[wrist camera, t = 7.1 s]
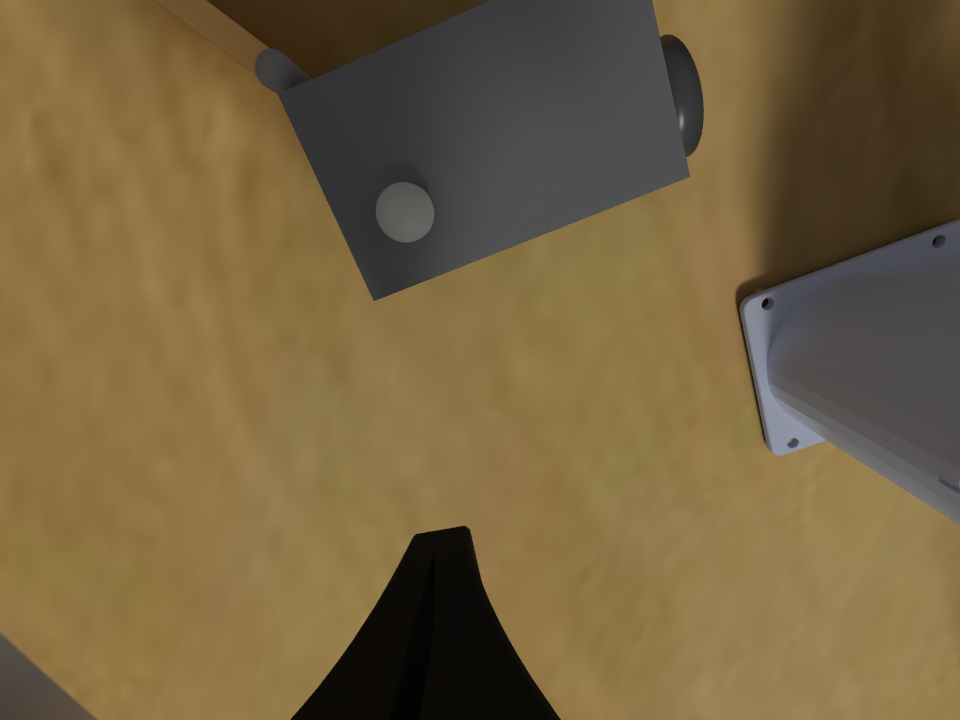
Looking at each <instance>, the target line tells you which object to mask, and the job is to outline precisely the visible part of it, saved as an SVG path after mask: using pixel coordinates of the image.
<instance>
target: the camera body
mask: <svg viewBox="0 0 960 720" xmlns="http://www.w3.org/2000/svg"><path fill="white" fill-rule="evenodd" d="M278 95H279V97H280V100H281V102H282V104H283V106H284V108H285V110H286V113H287V115H288V117H289V119H290V121H291V123H292V125H293V128H294V130H295V132H296V134H297V136H298V138H299V141H300V143H301V145H302V147H303V149H304V151H305V154H306V156H307V158H308V160H309V162H310V164H311V166H312V169H313V171H314V173H315V175H316V177H317V179H318V182H319V184H320V186H321V188H322V190H323V192H324V194H325V197H326V199H327V201H328V203H329V205H330V207H331V210H332V212H333V214H334V216H335V218H336V220H337V223H338V225H339V227H340V229H341V231H342V233H343V235H344V238H345V240H346V242H347V244H348V246H349V248H350V251H351V253H352V255H353V257H354V259H355V261H356V263H357V266H358V268H359V270H360V272H361V274H362V276H363V279H364V281H365V283H366V285H367V287H368V289H369V291H370V294H371V296H372V298H373V300H374V301H375V300H378V299H380V298H383V297H386V296H388V295H391V294H393V293H396V292H398V291H401V290H403V289H406V288H408V287H411V286H413V285H416V284H419V283H421V282H424V281H426V280H429V279H431V278H434V277H436V276H439V275H441V274H444V273H446V272H449V271H452V270H454V269H457V268H459V267H462V266H464V265H467V264H469V263H472V262H474V261H477V260H480V259H482V258H485V257H487V256H490V255H492V254H495V253H497V252H500V251H502V250H505V249H507V248H510V247H513V246H515V245H518V244H520V243H523V242H525V241H528V240H530V239H533V238H535V237H538V236H541V235H543V234H546V233H548V232H551V231H553V230H556V229H558V228H561V227H563V226H566V225H568V224H571V223H574V222H576V221H579V220H581V219H584V218H586V217H589V216H591V215H594V214H596V213H599V212H601V211H604V210H607V209H609V208H612V207H614V206H617V205H619V204H622V203H624V202H627V201H629V200H632V199H635V198H637V197H640V196H642V195H645V194H647V193H650V192H652V191H655V190H657V189H660V188H662V187H665V186H668V185H670V184H673V183H675V182H678V181H680V180H683V179H685V178H688V177H690V174H689V169H688V165H687V160H686V157H688V156H690V155H691V154H692V153H693V152H694V151H695V149H696V148H697V146H698V143H699V141H700V138H701V134H702V128H703V116H704V109H703V95H702V89H701V83H700V79H699V75H698V72H697V69H696V66H695V63H694V61H693V59H692V57H691V54H690V53H689V51H688V49H687V48H686V46H685V45H684V44H683V42H682V41H680V40H679V39H678V38H677V37H675V36H673V35H663V36H661V37H660V36H659V31H658V26H657V22H656V17H655V13H654V8H653V3H652V0H489V1H487V2H485V3H483V4H480V5H478V6H476V7H474V8H471V9H469V10H467V11H465V12H462V13H460V14H458V15H456V16H453V17H451V18H449V19H447V20H444V21H442V22H440V23H437V24H435V25H433V26H431V27H428V28H426V29H424V30H422V31H419V32H417V33H415V34H413V35H410V36H408V37H406V38H404V39H401V40H399V41H397V42H395V43H392V44H390V45H388V46H386V47H383V48H381V49H379V50H377V51H374V52H372V53H370V54H368V55H365V56H363V57H361V58H359V59H356V60H354V61H352V62H350V63H347V64H345V65H343V66H341V67H338V68H336V69H334V70H332V71H329V72H327V73H325V74H323V75H320V76H318V77H316V78H314V79H311V80H309V81H307V82H305V83H302V84H300V85H298V86H295V87H293V88H291V89H289V90H286V91H284V92H282V93H280V94H278Z"/></svg>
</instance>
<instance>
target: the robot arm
mask: <svg viewBox="0 0 960 720" xmlns="http://www.w3.org/2000/svg"><path fill="white" fill-rule="evenodd" d="M935 237H936V242H935V243H934V245H932V243H933V240H934V239H935ZM766 298H768V304H767V305H766V306H765V307H764V308H762V302H763V300H765V299H766ZM740 315H741V320H742V325H743V330H744V335H745V340H746V345H747V350H748V355H749V360H750V365H751V370H752V375H753V380H754V385H755V389H756V394H757V399H758V404H759V409H760V414H761V419H762V424H763V429H764V434H765V439H766V444H767V448H768V450H769V451H771V452H772V453H773V454H775V455H778V456H781V455H785V454H788V453H791V452H794V451H797V450H800V449H803V448H806V447H809V446H812V445H815V444H818V443H821V442H824V441H829V442H830V443H832V444H834V445H835V446H837V447H838V448H840V449H841V450H843V451H844V452H846V453H848V454H849V455H851V456H852V457H854V458H855V459H857V460H859V461H860V462H862V463H863V464H865V465H866V466H868V467H870V468H871V469H873V470H874V471H876V472H877V473H879V474H881V475H882V476H884V477H885V478H887V479H888V480H890V481H892V482H893V483H895V484H896V485H898V486H899V487H901V488H903V489H904V490H906V491H907V492H909V493H910V494H912V495H913V496H915V497H917V498H918V499H920V500H921V501H923V502H924V503H926V504H928V505H929V506H931V507H932V508H934V509H935V510H937V511H939V512H940V513H942V514H943V515H945V516H946V517H948V518H950V519H951V520H953V521H954V522H956V523H957V524H959V525H960V219H958V220H954V221H951V222H949V223H946V224H943V225H940V226H938V227H935V228H932V229H929V230H927V231H924V232H921V233H919V234H916V235H913V236H910V237H908V238H905V239H902V240H899V241H897V242H894V243H891V244H889V245H886V246H883V247H880V248H878V249H875V250H872V251H869V252H867V253H864V254H861V255H859V256H856V257H853V258H850V259H848V260H845V261H842V262H839V263H837V264H834V265H831V266H829V267H826V268H823V269H820V270H818V271H815V272H812V273H810V274H807V275H804V276H801V277H799V278H796V279H793V280H790V281H788V282H785V283H782V284H780V285H777V286H774V287H771V288H769V289H766V290H763V291H760V292H758V293H755V294H752V295H750V296H748V297H746V298H744V300H743V301H742V302H741V304H740ZM792 438H793V440H792V441H791V442H790V443H789V444H788V441H789V440H790V439H792ZM291 720H561V719H560V718H559V716H558V715H557V714H556V712H555V711H554V709H553V708H552V706H551V705H550V704H549V702H548V701H547V699H546V698H545V696H544V695H543V693H542V692H541V690H540V689H539V688H538V686H537V685H536V683H535V682H534V680H533V679H532V677H531V676H530V674H529V673H528V671H527V669H526V668H525V666H524V664H523V663H522V661H521V660H520V658H519V656H518V655H517V653H516V651H515V649H514V648H513V646H512V644H511V642H510V641H509V639H508V637H507V635H506V633H505V632H504V630H503V628H502V626H501V624H500V622H499V620H498V618H497V616H496V614H495V612H494V609H493V607H492V605H491V603H490V601H489V599H488V596H487V594H486V592H485V589H484V587H483V584H482V581H481V577H480V572H479V568H478V563H477V559H476V554H475V550H474V546H473V541H472V537H471V532H470V529H469V528H467V527H466V526H460V527H455V528H449V529H443V530H437V531H431V532H426V533H420V534H416V535H415V536H414V537H413V538H412V540H411V542H410V544H409V546H408V548H407V550H406V552H405V554H404V556H403V558H402V560H401V561H400V563H399V565H398V567H397V569H396V571H395V572H394V574H393V576H392V578H391V580H390V581H389V583H388V585H387V587H386V588H385V590H384V592H383V593H382V595H381V597H380V598H379V600H378V602H377V604H376V605H375V607H374V609H373V610H372V612H371V613H370V615H369V616H368V618H367V619H366V621H365V622H364V624H363V625H362V627H361V629H360V630H359V632H358V633H357V635H356V636H355V638H354V639H353V641H352V642H351V644H350V645H349V646H348V648H347V649H346V651H345V652H344V654H343V655H342V656H341V658H340V659H339V660H338V662H337V663H336V665H335V666H334V667H333V668H332V670H331V671H330V672H329V674H328V675H327V676H326V678H325V679H324V680H323V681H322V683H321V684H320V685H319V687H318V688H317V689H316V690H315V691H314V693H313V694H312V695H311V696H310V697H309V699H308V700H307V701H306V702H305V703H304V705H303V706H302V707H301V708H300V709H299V710H298V712H297V713H296V714H295V715H294V716H293V717H292V718H291Z"/></svg>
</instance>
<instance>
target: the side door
mask: <svg viewBox="0 0 960 720" xmlns="http://www.w3.org/2000/svg"><path fill="white" fill-rule="evenodd" d="M155 1H156V2H158V3H159V4H160V5H162V6H163V7H164V8H166V9H167V10H169V11H170V12H171V13H173V14H174V15H175V16H177V17H178V18H179V19H181V20H182V21H183V22H185V23H186V24H188V25H189V26H190V27H192V28H193V29H194V30H196V31H197V32H198V33H200V34H201V35H203V36H204V37H205V38H207V39H208V40H209V41H211V42H212V43H213V44H215V45H216V46H217V47H219V48H220V49H222V50H223V51H224V52H226V53H227V54H228V55H230V56H231V57H232V58H234V59H235V60H236V61H238V62H239V63H241V64H242V65H243V66H245V67H246V68H247V69H249V70H250V71H251V72H253V73H254V74H255V75H257V77H258V79H259V80H260V82H261V83H262V84H263V85H264V86H265V87H267V88H269V89H270V90H272V91H273V92H275V93H277V94H280V93H282V92H284V91H286V90H289V89H291V88H293V87H295V86H298V85H300V84H302V83H305V82H307V81H309V80H311V79H312V78H311V77H310V76H309V75H308V74H306V73H305V72H304V71H303V70H302V69H301V68H299V67H298V66H297V65H296V64H295V63H294V62H292V61H291V60H290V59H289V58H288V57H287V56H286V55H284V54H283V53H282V52H280V51H279V50H276V49H270V48H269V47H268V46H266V45H265V44H264V43H262V42H261V41H260V40H258V39H257V38H256V37H254V36H253V35H252V34H250V33H249V32H248V31H246V30H245V29H244V28H242V27H241V26H240V25H238V24H237V23H236V22H234V21H233V20H232V19H230V18H229V17H228V16H227V15H225V14H224V13H223V12H221V11H220V10H219V9H217V8H216V7H215V6H213V5H212V4H211V3H209V2H208V1H207V0H155Z"/></svg>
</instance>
